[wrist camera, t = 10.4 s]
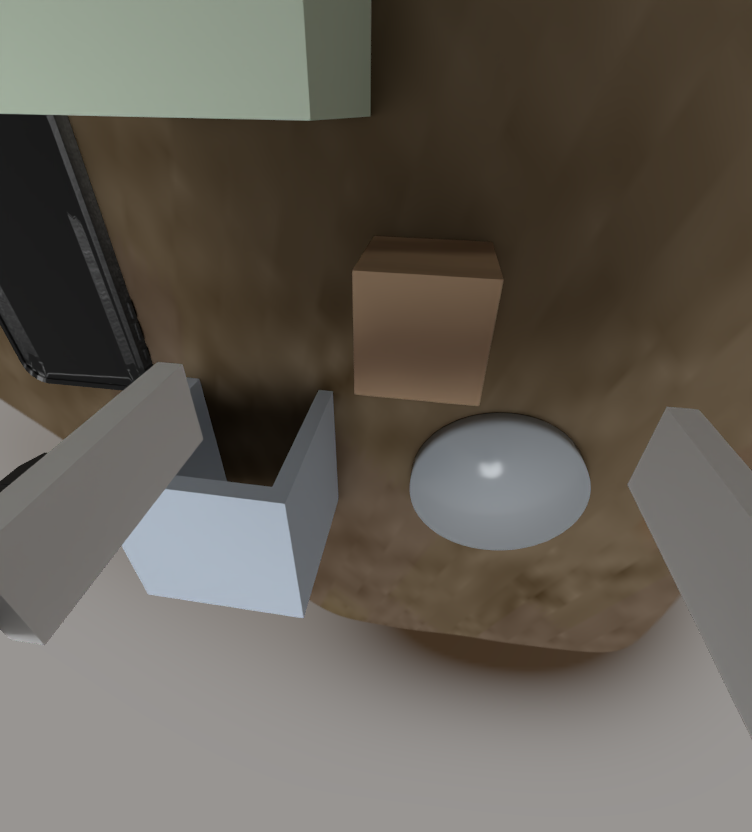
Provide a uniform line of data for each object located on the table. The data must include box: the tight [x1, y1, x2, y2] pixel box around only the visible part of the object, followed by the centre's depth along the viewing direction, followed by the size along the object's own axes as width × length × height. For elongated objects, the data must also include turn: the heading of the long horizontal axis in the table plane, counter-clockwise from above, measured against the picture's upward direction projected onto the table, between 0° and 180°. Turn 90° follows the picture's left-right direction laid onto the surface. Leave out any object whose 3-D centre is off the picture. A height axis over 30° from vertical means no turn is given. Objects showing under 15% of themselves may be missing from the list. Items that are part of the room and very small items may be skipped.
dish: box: [410, 413, 591, 550], centre depth 25 cm, size 10×10×1 cm
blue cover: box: [122, 378, 339, 618], centre depth 23 cm, size 9×9×8 cm
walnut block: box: [352, 236, 504, 406], centre depth 17 cm, size 5×5×5 cm
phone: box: [0, 114, 153, 390], centre depth 21 cm, size 8×1×15 cm
